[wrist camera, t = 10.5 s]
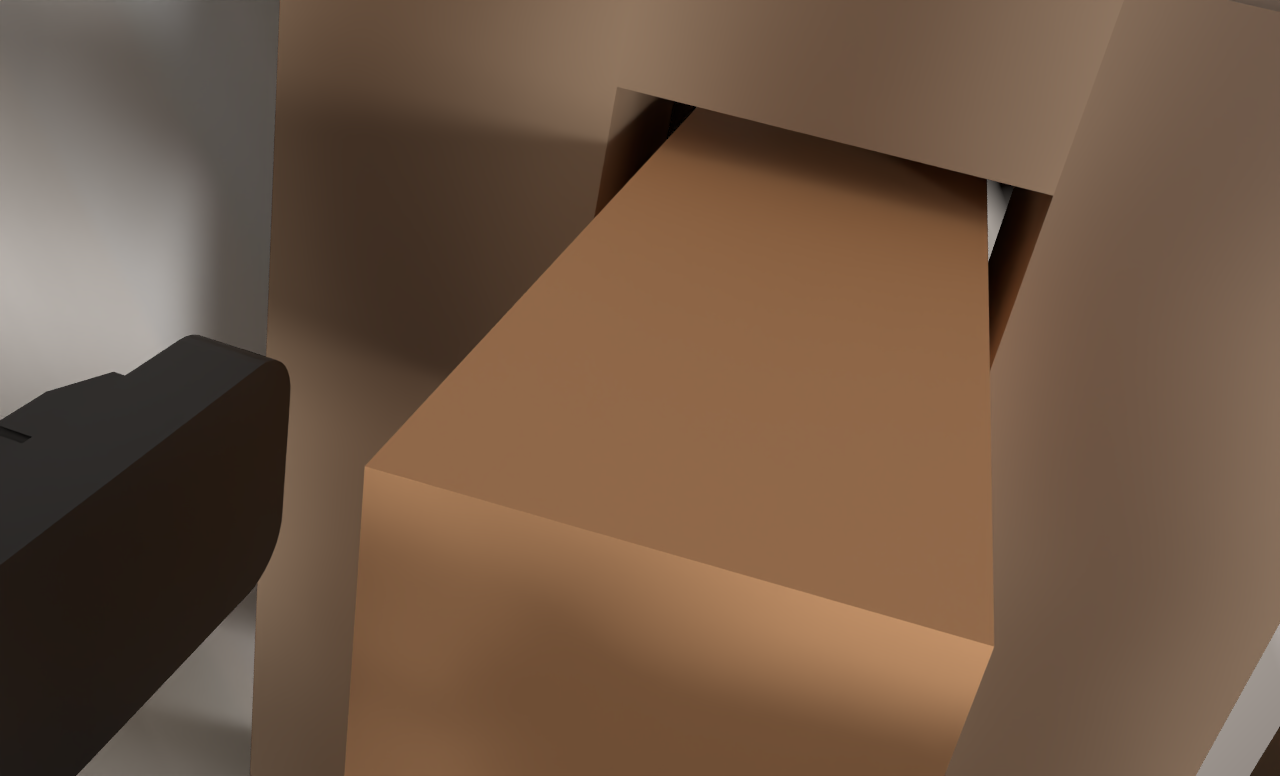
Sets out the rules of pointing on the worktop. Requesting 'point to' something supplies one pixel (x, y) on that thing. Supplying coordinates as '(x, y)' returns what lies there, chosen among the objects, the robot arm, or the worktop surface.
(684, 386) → the peg
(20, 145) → the worktop surface
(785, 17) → the socket block
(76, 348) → the worktop surface
